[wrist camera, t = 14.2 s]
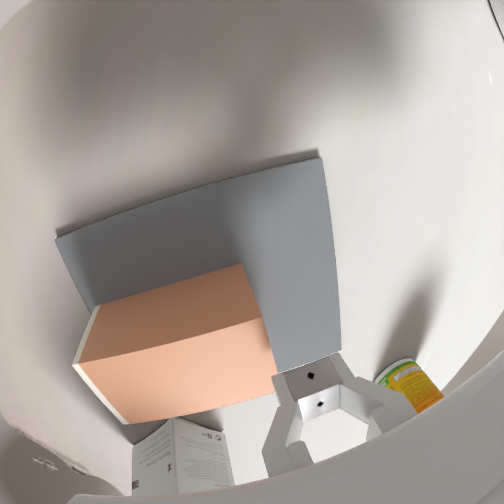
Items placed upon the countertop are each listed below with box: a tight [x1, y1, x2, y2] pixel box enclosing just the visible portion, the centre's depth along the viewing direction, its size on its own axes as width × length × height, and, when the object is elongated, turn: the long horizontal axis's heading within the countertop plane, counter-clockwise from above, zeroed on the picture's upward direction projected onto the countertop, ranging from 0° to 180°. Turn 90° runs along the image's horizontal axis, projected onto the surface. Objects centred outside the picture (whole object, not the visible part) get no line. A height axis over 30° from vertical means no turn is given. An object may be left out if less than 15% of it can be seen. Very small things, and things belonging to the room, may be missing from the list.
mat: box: [55, 157, 341, 373], centre depth 17 cm, size 15×14×1 cm
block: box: [72, 263, 278, 425], centre depth 14 cm, size 5×5×9 cm
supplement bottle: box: [374, 358, 444, 414], centre depth 20 cm, size 5×5×10 cm
